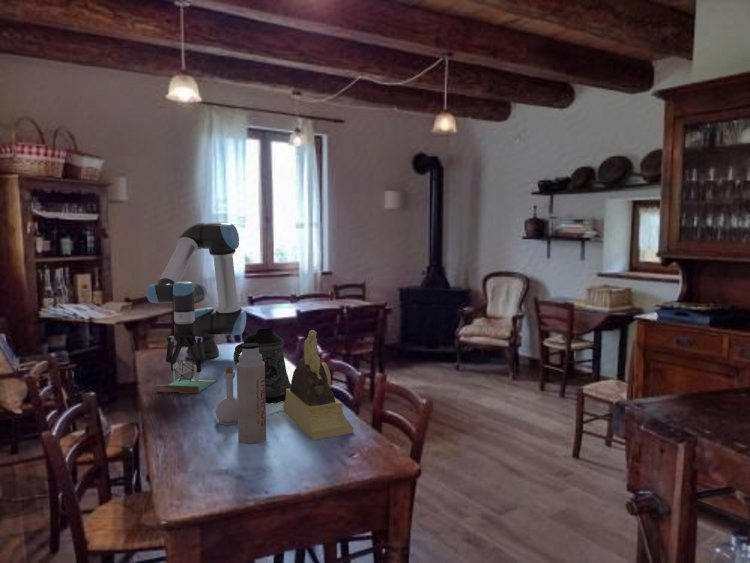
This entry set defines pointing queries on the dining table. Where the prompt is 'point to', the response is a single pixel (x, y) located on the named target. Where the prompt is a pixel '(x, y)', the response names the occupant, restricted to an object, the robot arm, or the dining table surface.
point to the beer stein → (269, 363)
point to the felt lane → (195, 383)
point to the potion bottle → (228, 401)
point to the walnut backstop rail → (178, 389)
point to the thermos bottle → (251, 395)
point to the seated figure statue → (314, 397)
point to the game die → (185, 370)
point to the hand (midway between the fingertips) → (186, 380)
